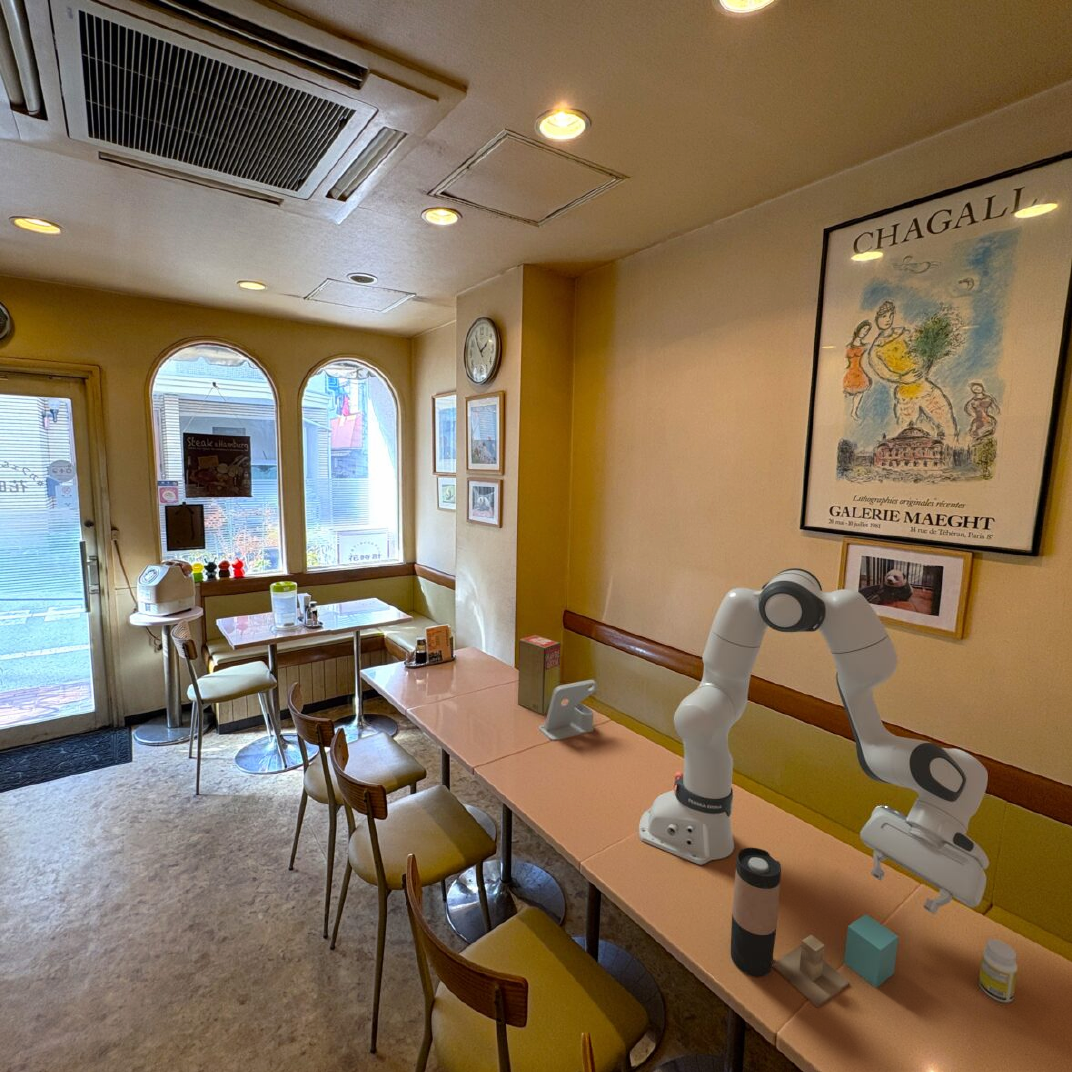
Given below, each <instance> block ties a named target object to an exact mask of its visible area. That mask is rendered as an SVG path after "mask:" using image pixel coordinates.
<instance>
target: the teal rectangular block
mask: <svg viewBox="0 0 1072 1072" xmlns="http://www.w3.org/2000/svg"><path fill="white" fill-rule="evenodd" d="M898 945H899V936H898V935H897V934H895V933H894V932H893V931H892V930H890V929H888V928H887V927H886V926H884V925H883V924H881V923H880V922H879V921H877V920H875V919H874V918H872V917H871V916H869V915H868V914H867V913H866V914H864V915H862V916H861V917H859V918H858V919H856V920H855V921H854V922H852V923H850V924H849V925H848V926H847V933H846V941H845V952H844V958H843V963H844V964H845V965H846V966H848V967H849V968H850V969H852V970H853V971H854V972H855V973H856V974H858V975H859V976H860V977H861V978H863V979H864V980H865V981H866V982H867V983H869V984H871V986H873V987H874V988H875V989H877V988H879V986H881V984H883V983H884V982H886V980H888V979H889V978H890V977H891V976H893V975H895V968H896V962H897V961H896V960H897V951H898Z"/></svg>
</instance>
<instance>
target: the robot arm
mask: <svg viewBox="0 0 1072 1072" xmlns="http://www.w3.org/2000/svg"><path fill="white" fill-rule="evenodd" d="M714 616H715V617H714V618H713V622H712V625H711V627H710V631H709V634H708V637H707V641H706V644H705V647H704V650H703V654H702V662H703V671H702V672H703V673H702V678H701V681H700V683H699V685H698V686H697V688H695V689H694V690H693V692H691V693H690V694H688V695H687V696H686V697H684V698H683V700H682V701H681V702H680V703H679V705H678V707H677V709H676V710H675V712H674V715H673V724H674V728H675V732H677V734H678V736H679V737H680V738H681V739H682V740H681V741H682V744H683V752H684V756H683V757H684V758H683V759H684V760H683V762H684V763H683V772H682V771H677V772H676V773H675V776H674V785H673V789H672V790H669V791H667V792H664V793H661V794H660V795H658V796H656V798H655V800H654V801H653V802H652V805H651V807H649V808H648V809H646V810H645V812H644V813H643V814H642V816H641V818H640V821H639V824H638V835H639V838H640V840H641V841H643V842H644V843H647V844H649V845H650V846H654V847H656V848H659V849H661V850H664V851H665V852H668V853H670V854H672V855H676V856H678V857H680V858H682V859H684V860H687V861H689V862H692V863H695V864H697V865H705V864H707V863H708V862H710V861H713V860H716V861H717V860H721V859H724V858H727V857H728V856H731V854H732V853H733V851H734V849H735V842H734V837H733V833H732V824H731V814H732V812H733V802H734V794H733V793H734V792H733V787H732V781H733V768H734V758H733V756H732V754H731V752H730V750H729V745H728V744H729V743H728V736H729V732H730V730H731V727H732V726H733V725H734V724H735V723H737V721H738V720H739V719H740V718H741V717H742V716H743V714H744V711H745V710H746V709H745V708H746V707H747V703H748V693H749V687H750V680H751V675H752V672H753V669H754V666H755V663H756V660H757V657H758V654H759V651H760V648H761V645H762V642H763V639H764V636H765V633H766V631H767V629H768V627H770V628H771V629H772V630H775V631H777V632H782V633H799V632H805V633H806V632H807V633H808V632H809V633H812V632H816V631H818V632H820V634H821V635H822V637H823V638H824V640H825V644H827V647H828V649H829V651H830V653H831V656H832V658H833V661H834V663H835V667H836V676H835V677H836V686H837V689H838V692H839V695H840V699H841V702H842V706H843V708H844V711H845V713H846V716H847V719H848V721H849V725H850V727H851V730H852V734H853V737H854V741H855V748H856V749H855V750H856V757H857V761H858V764H859V766H860V768H861V769H862V771H863V772H864V774H865V775H866V776H867V777H868V778H870V779H872V780H873V781H876V782H878V783H883V784H890V785H895V786H898V787H902V788H906V789H908V790H913V791H915V792H916V793H917V794H918V797H917V798H916V799H915V801H914V803H913V805H912V807H911V809H910V811H909V812H908V815H907V814H905V813H903V812H901V811H898V810H896V809H895V808H893V807H892V806H888V805H877V806H876V807H875V808H874V809H873V810H872V812H871V815H870V818H869V819H868V821H867V822H866V823H865V824H864V825H863V827H862V829H861V831H859V832H860V833H859V836H860V839H861V841H862V843H864V845H865V846H866V847H867V848H869V849H871V850H873V854H872V856H873V857H872V858H873V868H872V870H871V872H870V873H871V876H872V877H874V878H875V879H877V880H879V882H881V881H882V880H883V877H885V875H886V872H885V871H884V870H883V869H882V868H881V867H882V866H881V862H885V860H886V859H888V860H890V861H891V862H892V863H895V864H896V865H899V866H900V867H901V868H903V869H904V870H907V871H908V872H910V873H911V874H914V875H915V876H916V877H918V878H920V879H922V880H923V881H926V882H927V883H929V884H930V885H932V886H934V887H935V888H937V889H939V891H938V893H939V896H938V897H936V898H933V899H931V898H929V897H927V898H926V899H925V903H924V904H923V908H924V909H925V910H926V911H928V912H929V913H931V914H932V915H936V913H937V912H938V910H939V907H943V906H945V905H947V904H949V903H951V901H952V899H953V898H954V899H956V900H957V901H958V902H961V903H962V904H964V905H966V906H967V907H969V908H975V907H978V906H979V905H980V904H981V901H982V898H983V897H984V893H985V890H986V886H987V885H986V884H987V875H986V873H985V871H984V870H986V869H987V868H988V867H989V864H990V861H989V859H988V856H987V854H986V853H985V851H984V850H983V849H982V847H981V846H980V845H979V843H977V842H975V841H974V840H973V839H972V838H970V837H969V836H968V835H967V831H968V830H969V822H970V820H971V818H972V816H974V815H975V814H976V813H977V812H978V809H979V807H980V805H981V802H982V801H983V798H984V796H985V793H986V790H987V786H988V778H989V776H988V775H989V774H988V770H987V768H986V767H985V766H984V765H983V764H982V762H980V761H979V759H977V758H976V757H974V756H973V755H971V754H970V753H969V752H966V751H964V750H962V749H959V748H947V747H946V748H945V747H941V746H939V745H938V744H936V743H933V742H930V741H926V740H922V739H917V738H909V737H903V736H897V735H895V734H893V733H892V732H890V731H889V730H887V728H885V726H884V724H883V721H882V718H881V716H880V715H881V714H880V712H879V709H878V707H877V704H876V701H875V697H874V689H875V687H877V686H879V685H882V684H883V683H885V682H887V681H888V680H889V679H890V678H891V677H892V676H893V675H894V673H895V671H896V669H897V667H898V663H899V660H898V659H899V658H898V655H897V651H896V648H895V646H894V643H893V641H892V640H891V638H890V636H889V633H888V632H887V630H886V627H885V626H884V624H883V622H882V621H881V619H880V617H879V616H878V614H877V613H876V611H875V610H874V608H873V606H871V604H870V603H869V602H868V600H867V599H866V597H864V595H863V594H862V593H860V592H859V591H857V590H853V589H847V588H846V589H845V588H844V589H836V590H833V591H828V592H827V591H823V588H822V584H821V582H820V581H819V580H818V578H817V576H816V575H814V574H813V573H812V572H810V571H809V570H806V569H803V568H799V567H794V568H793V567H792V568H787V569H785V570H782V571H780V572H779V573H777V574H775V575H774V576H773V577H772V578H771V579H770V580H769V581H768V582H766V583H765V584H764V585H762V587H761V590H755V589H752V588H747V587H736V588H732V589H731V590H729V591H727V593H726V594H725V596H724V597H723V599H722V601H721V603H720V605H719V607H718V609H717V612H716V614H715V615H714Z"/></svg>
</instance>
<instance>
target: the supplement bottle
mask: <svg viewBox="0 0 1072 1072" xmlns="http://www.w3.org/2000/svg"><path fill="white" fill-rule="evenodd" d="M1016 961H1017V953H1016V951H1015V950H1014V948H1013V947H1012V946H1011V945H1009V944H1007V943H1006V942H1004V941H1002V940H1000V939H996V938H990V939H988V940H987V941H986V946H985V949H984V950H983V952H982V955H981V962H980V963H981V964H980V971H979V978H978V983H979V987H980V988H981V990H983V991H984V993H985V994H986V995H987V996H989V997H990V998H992V999H994V1000H995V1001H998V1002H1001V1003H1010V1002H1012V1001H1013V1000H1014V996H1015V988H1016V983H1017V982H1016V981H1017V974H1018V964H1017V963H1016Z"/></svg>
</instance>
